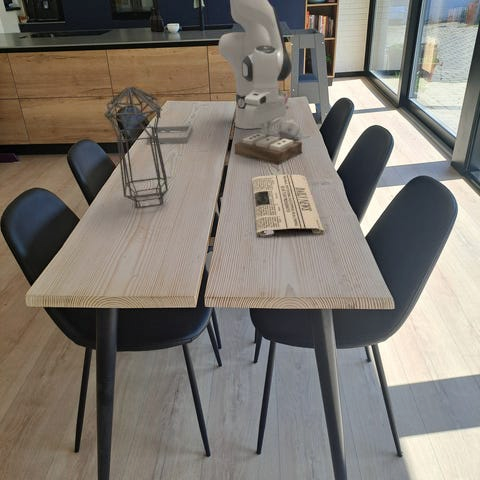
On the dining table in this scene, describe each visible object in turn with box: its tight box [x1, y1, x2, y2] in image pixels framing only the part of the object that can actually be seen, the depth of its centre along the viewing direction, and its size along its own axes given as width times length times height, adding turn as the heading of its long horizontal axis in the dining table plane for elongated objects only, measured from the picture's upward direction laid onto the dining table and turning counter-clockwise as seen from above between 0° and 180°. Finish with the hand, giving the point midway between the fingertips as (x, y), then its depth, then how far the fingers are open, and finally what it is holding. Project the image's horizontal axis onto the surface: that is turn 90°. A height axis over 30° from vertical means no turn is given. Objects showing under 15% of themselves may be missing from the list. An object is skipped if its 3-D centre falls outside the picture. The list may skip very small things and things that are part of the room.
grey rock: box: [276, 118, 301, 141], centre depth 187 cm, size 8×9×10 cm
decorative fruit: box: [278, 89, 289, 104], centre depth 230 cm, size 9×8×10 cm
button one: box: [256, 135, 280, 148], centre depth 174 cm, size 9×4×3 cm, turn 140°
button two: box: [270, 139, 294, 151], centre depth 170 cm, size 9×4×3 cm, turn 140°
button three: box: [242, 132, 267, 145], centre depth 178 cm, size 9×4×3 cm, turn 140°
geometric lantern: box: [103, 85, 169, 209], centre depth 135 cm, size 16×16×35 cm
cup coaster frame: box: [146, 125, 194, 144], centre depth 198 cm, size 17×17×2 cm
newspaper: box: [251, 174, 325, 238], centre depth 136 cm, size 37×19×3 cm, turn 1°
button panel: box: [233, 134, 303, 166], centre depth 175 cm, size 15×21×4 cm
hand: (266, 132), depth 171 cm, fingers closed
